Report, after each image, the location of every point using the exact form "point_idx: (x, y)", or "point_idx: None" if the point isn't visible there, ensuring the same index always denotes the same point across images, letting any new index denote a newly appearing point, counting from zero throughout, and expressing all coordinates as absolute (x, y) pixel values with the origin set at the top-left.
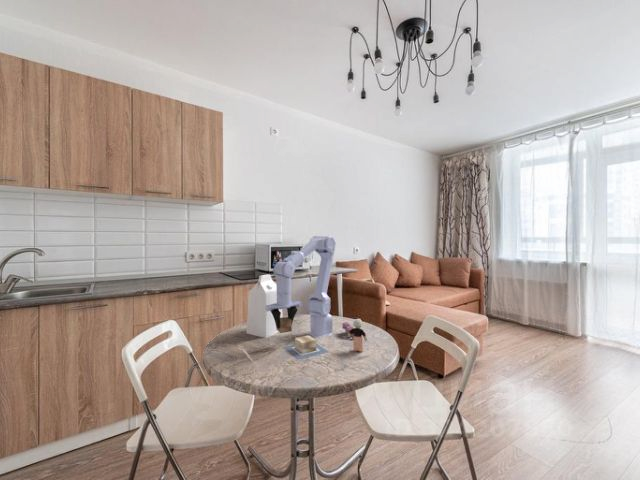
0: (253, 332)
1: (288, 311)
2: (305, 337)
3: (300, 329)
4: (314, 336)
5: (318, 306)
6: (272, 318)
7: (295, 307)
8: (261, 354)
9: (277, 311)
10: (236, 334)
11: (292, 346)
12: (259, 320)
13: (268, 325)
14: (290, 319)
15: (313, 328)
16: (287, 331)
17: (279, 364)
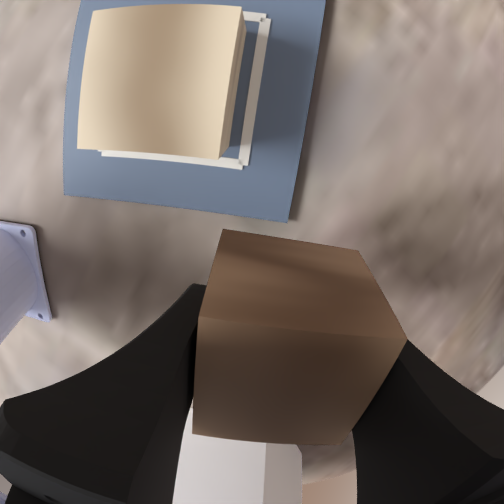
0: (291, 446)
1: (170, 491)
2: (127, 112)
3: (68, 371)
4: (30, 245)
5: None
6: (207, 480)
7: (22, 496)
8: (431, 231)
9: (482, 493)
10: (337, 456)
11: (224, 188)
12: (280, 488)
13: (245, 450)
14: (209, 336)
15: (6, 284)
16: (278, 239)
17: (435, 43)
